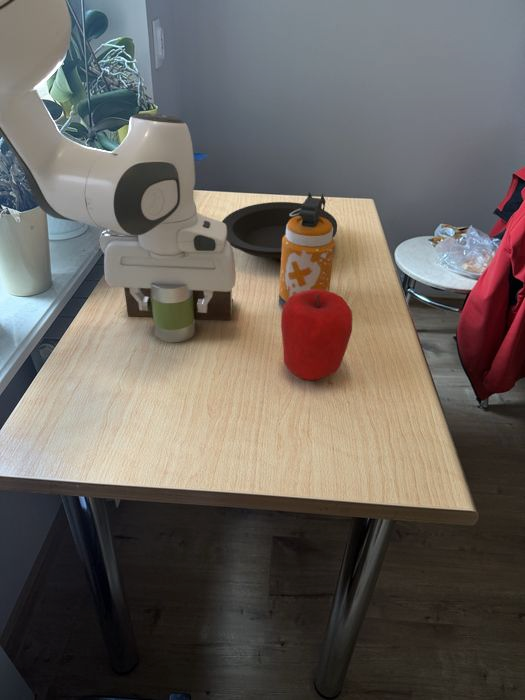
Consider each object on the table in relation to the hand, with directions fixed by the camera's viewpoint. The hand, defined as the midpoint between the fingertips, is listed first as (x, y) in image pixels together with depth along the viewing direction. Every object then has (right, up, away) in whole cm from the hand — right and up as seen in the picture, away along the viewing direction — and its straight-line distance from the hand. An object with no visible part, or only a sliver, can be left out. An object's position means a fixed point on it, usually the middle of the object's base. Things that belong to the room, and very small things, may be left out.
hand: (173, 309), depth 87 cm
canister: (+22, +2, +12) cm, 25 cm away
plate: (+18, +16, +30) cm, 38 cm away
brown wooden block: (0, +1, +8) cm, 8 cm away
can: (0, -3, +2) cm, 4 cm away
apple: (+22, -10, -5) cm, 25 cm away
